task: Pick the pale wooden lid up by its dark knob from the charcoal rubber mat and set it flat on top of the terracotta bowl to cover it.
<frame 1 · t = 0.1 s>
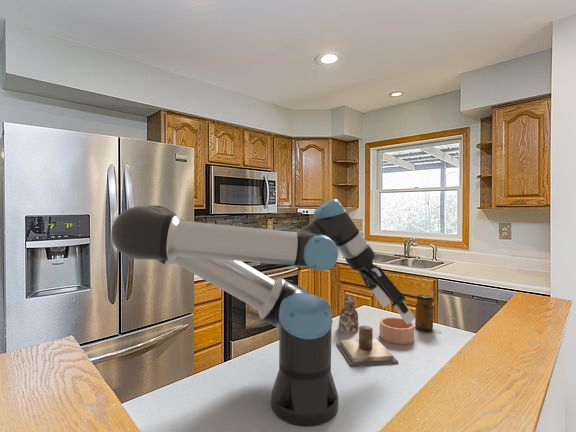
hand: (398, 312, 90), 15 cm above the countertop, tool tilted 35°, fingers open, 13 cm apart
figurine: (348, 329, 117), on the countertop
mat: (365, 353, 98), on the countertop
condiment: (425, 329, 118), on the countertop
bowl: (396, 337, 110), on the countertop
lid: (365, 351, 98), point 1 cm above the countertop, touching mat
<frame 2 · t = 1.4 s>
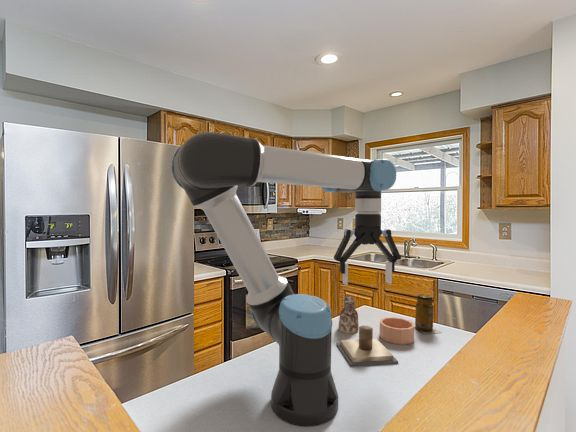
hand: (367, 283, 97), 21 cm above the countertop, tool pointing down, fingers open, 13 cm apart
nothing on the countertop moved.
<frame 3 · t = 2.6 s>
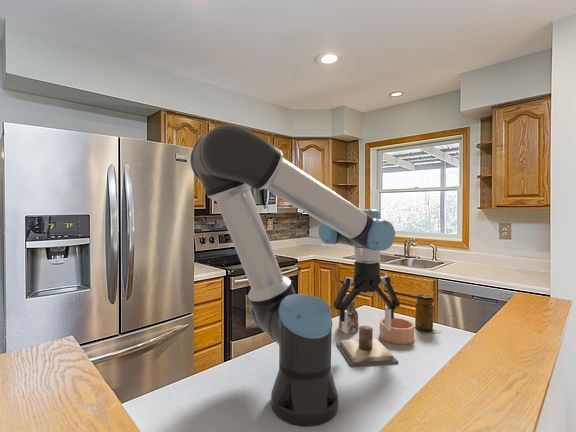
hand: (366, 330, 98), 7 cm above the countertop, tool pointing down, fingers open, 13 cm apart
nothing on the countertop moved.
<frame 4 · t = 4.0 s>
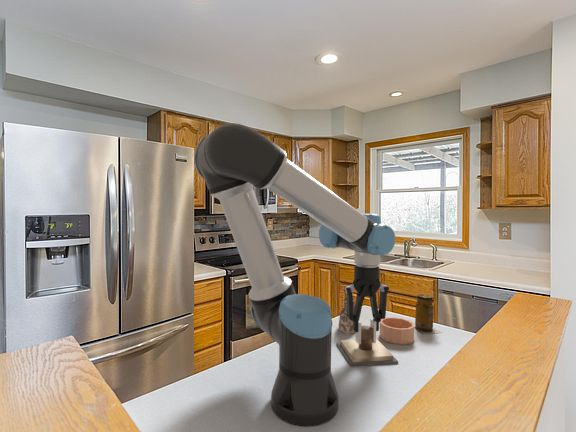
hand: (365, 341, 98), 4 cm above the countertop, tool pointing down, fingers closed on lid, 4 cm apart
lid: (365, 351, 98), point 1 cm above the countertop, touching gripper, mat
everything else where it was.
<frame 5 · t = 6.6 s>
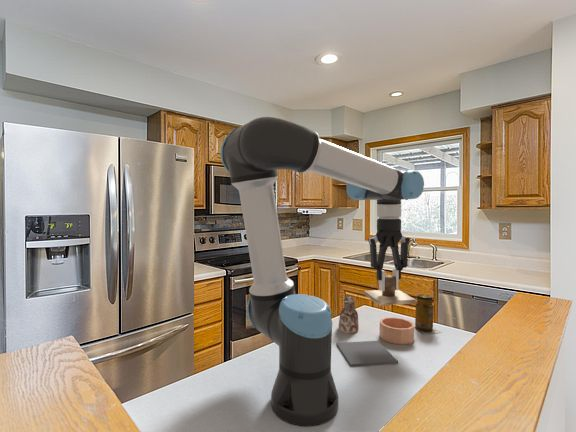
hand: (388, 289, 105), 18 cm above the countertop, tool pointing down, fingers closed on lid, 4 cm apart
lid: (388, 298, 105), point 15 cm above the countertop, touching gripper
everything else where it was.
when the fingers open (10 cm above the countertop, at t = 9.0 s): lid drops 2 cm, resting on bowl.
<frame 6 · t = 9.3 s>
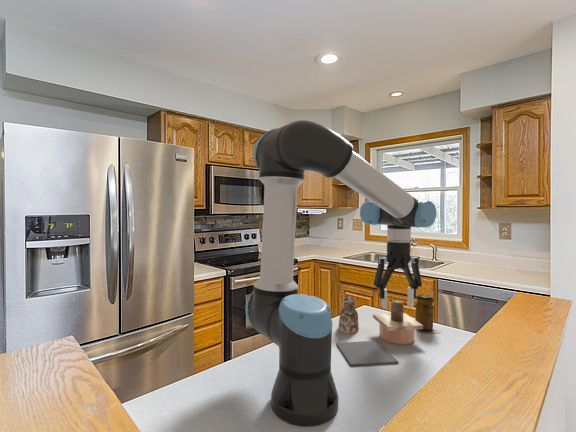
hand: (397, 307, 109), 10 cm above the countertop, tool pointing down, fingers open, 9 cm apart
lid: (396, 323, 110), point 5 cm above the countertop, touching bowl
everything else where it was.
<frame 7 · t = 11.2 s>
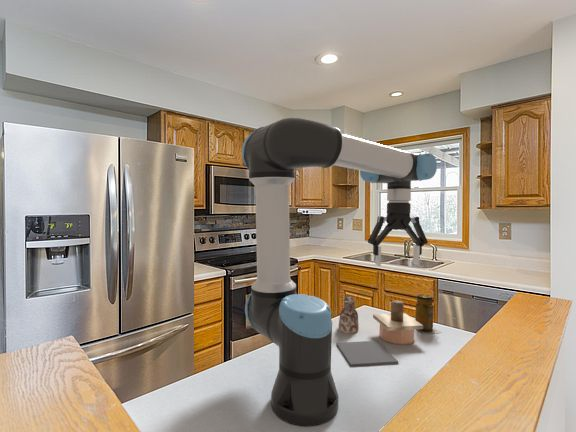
hand: (397, 265, 109), 25 cm above the countertop, tool pointing down, fingers open, 13 cm apart
nothing on the countertop moved.
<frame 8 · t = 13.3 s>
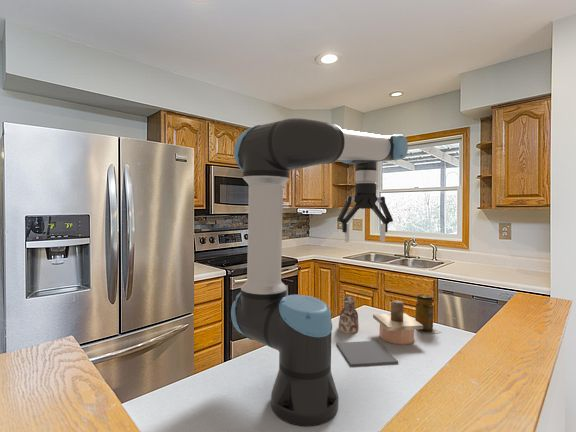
hand: (364, 241, 117), 32 cm above the countertop, tool pointing down, fingers open, 13 cm apart
nothing on the countertop moved.
at the end: lid 0.0 cm off-centre on the bowl, point 5.0 cm above the bowl's base; lid tilted 0°; the gripper is holding nothing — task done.
